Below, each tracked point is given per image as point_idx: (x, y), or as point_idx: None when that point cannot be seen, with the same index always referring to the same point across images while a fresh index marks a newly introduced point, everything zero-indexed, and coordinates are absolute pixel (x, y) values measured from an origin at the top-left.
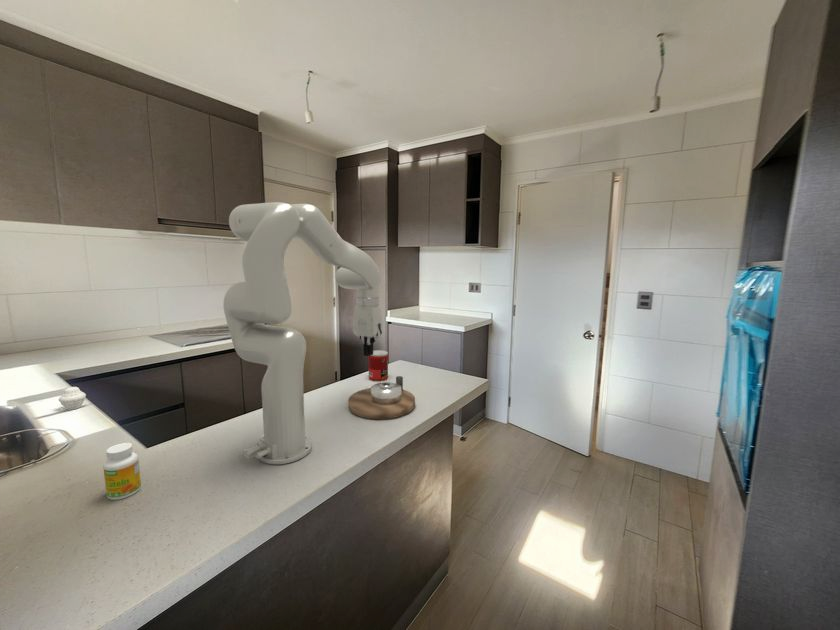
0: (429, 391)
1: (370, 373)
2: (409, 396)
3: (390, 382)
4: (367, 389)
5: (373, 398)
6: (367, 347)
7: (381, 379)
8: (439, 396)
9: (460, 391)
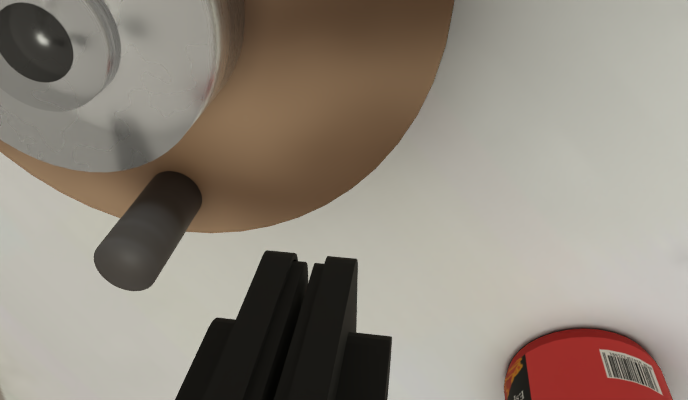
0: (139, 332)
1: (627, 371)
2: None
3: (139, 164)
4: (409, 85)
5: None
6: (211, 395)
7: (522, 354)
8: (42, 298)
9: (28, 393)
